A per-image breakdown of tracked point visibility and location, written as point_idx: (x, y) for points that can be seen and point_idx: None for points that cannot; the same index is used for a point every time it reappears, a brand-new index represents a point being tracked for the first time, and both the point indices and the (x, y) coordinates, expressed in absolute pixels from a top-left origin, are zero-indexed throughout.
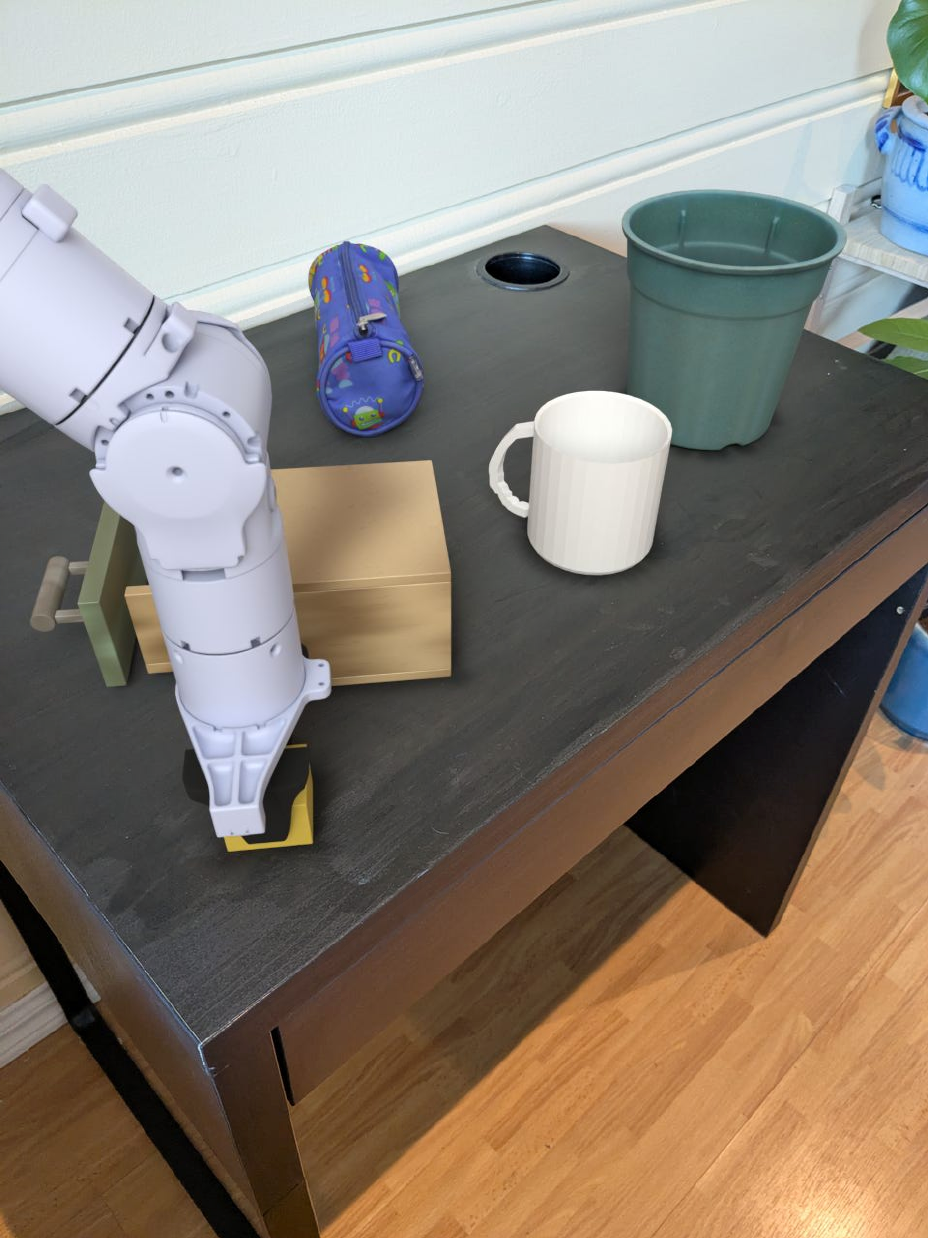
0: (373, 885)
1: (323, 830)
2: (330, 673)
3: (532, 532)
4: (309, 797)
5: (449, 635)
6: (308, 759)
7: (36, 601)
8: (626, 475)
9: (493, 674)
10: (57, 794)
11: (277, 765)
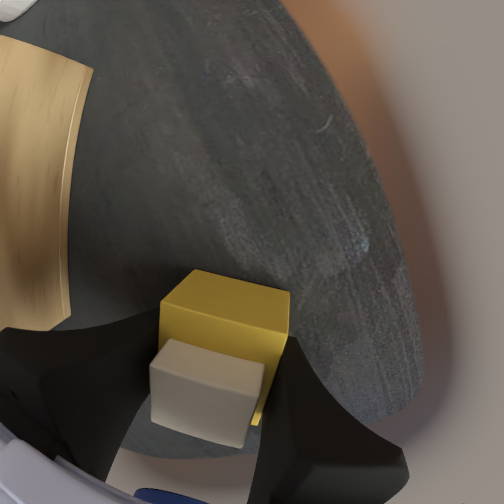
0: (375, 235)
1: (272, 273)
2: (36, 479)
3: (9, 11)
4: (243, 301)
5: (46, 51)
6: (355, 467)
7: None
8: None
9: (110, 26)
10: (167, 446)
11: (332, 501)
